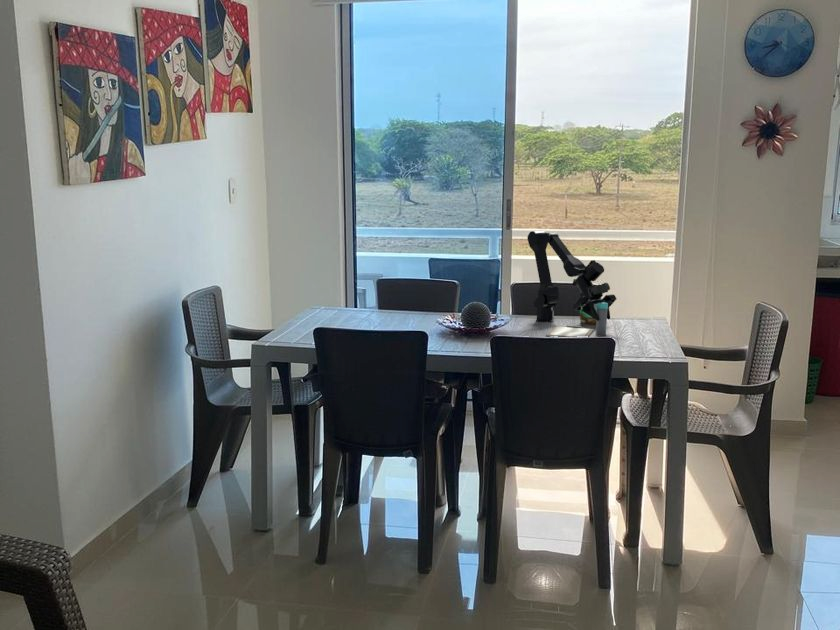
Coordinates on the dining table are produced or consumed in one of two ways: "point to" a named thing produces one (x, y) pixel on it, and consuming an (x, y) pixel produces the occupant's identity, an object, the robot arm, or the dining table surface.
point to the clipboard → (570, 331)
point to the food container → (587, 317)
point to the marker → (601, 318)
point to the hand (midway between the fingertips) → (604, 319)
